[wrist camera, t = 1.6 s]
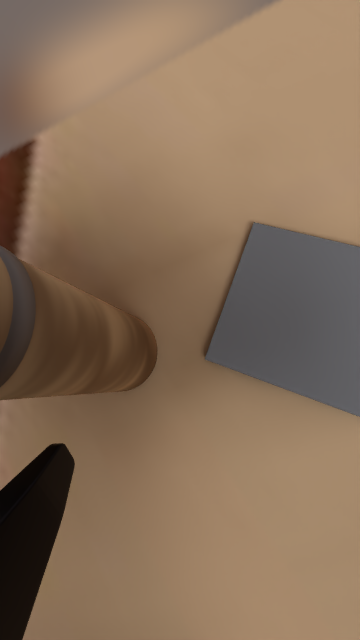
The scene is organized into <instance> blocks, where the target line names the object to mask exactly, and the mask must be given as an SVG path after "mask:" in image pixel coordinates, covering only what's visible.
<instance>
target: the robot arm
mask: <svg viewBox="0 0 360 640" xmlns="http://www.w3.org/2000/svg"><path fill="white" fill-rule="evenodd" d="M74 465H75V463H74V459H73V457H72V455H71V453H70V452H69V450H68V448H67V447H66V445H65V444H63V443H58V444H51V445H49V446H48V447H47V448H46V449H45V450H44V451H43V452H42V453H40V454H39V455H38V456H37V457H36V458H35V459H34V460H33V461H32V462H31V463H30V464H29V465H27V466H26V467H25V468H24V469H23V470H22V471H21V472H20V473H19V474H18V475H17V476H16V477H15V478H13V479H12V480H11V481H10V482H9V483H8V484H7V485H6V486H5V487H4V488H3V489H2V490H0V640H22V639H23V636H24V633H25V630H26V627H27V624H28V621H29V618H30V615H31V612H32V609H33V606H34V603H35V600H36V597H37V594H38V590H39V587H40V584H41V581H42V578H43V575H44V572H45V569H46V566H47V563H48V560H49V557H50V554H51V551H52V548H53V545H54V542H55V539H56V536H57V533H58V530H59V527H60V524H61V521H62V517H63V513H64V510H65V505H66V501H67V497H68V492H69V488H70V484H71V480H72V475H73V471H74Z"/></svg>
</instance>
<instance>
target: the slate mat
mask: <svg viewBox="0 0 360 640" xmlns="http://www.w3.org/2000/svg"><path fill="white" fill-rule="evenodd" d="M205 359H206V360H208V361H211V362H214V363H216V364H219V365H222V366H224V367H227V368H230V369H232V370H235V371H238V372H241V373H243V374H246V375H249V376H251V377H254V378H257V379H259V380H262V381H265V382H268V383H270V384H273V385H276V386H278V387H281V388H284V389H286V390H289V391H292V392H294V393H297V394H300V395H303V396H305V397H308V398H311V399H313V400H316V401H319V402H321V403H324V404H327V405H330V406H332V407H335V408H338V409H340V410H343V411H346V412H348V413H351V414H354V415H356V416H359V417H360V247H357V246H353V245H349V244H345V243H340V242H336V241H332V240H327V239H323V238H319V237H315V236H310V235H306V234H302V233H297V232H293V231H289V230H285V229H280V228H276V227H272V226H267V225H263V224H259V223H255V222H254V224H253V227H252V229H251V232H250V235H249V238H248V240H247V243H246V246H245V249H244V252H243V254H242V257H241V260H240V263H239V265H238V268H237V271H236V274H235V277H234V279H233V282H232V285H231V288H230V290H229V293H228V296H227V299H226V302H225V304H224V307H223V310H222V313H221V315H220V318H219V321H218V324H217V327H216V329H215V332H214V335H213V338H212V340H211V343H210V346H209V349H208V352H207V354H206V357H205Z"/></svg>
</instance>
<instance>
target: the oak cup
mask: <svg viewBox="0 0 360 640" xmlns="http://www.w3.org/2000/svg"><path fill="white" fill-rule="evenodd" d="M156 359H157V344H156V340H155V337H154V335H153V333H152V331H151V329H150V328H149V327H148V326H147V325H146V324H145V323H144V322H143V321H141V320H140V319H138V318H136V317H134V316H132V315H130V314H128V313H126V312H124V311H122V310H120V309H118V308H116V307H114V306H112V305H110V304H108V303H106V302H104V301H102V300H100V299H98V298H96V297H94V296H92V295H90V294H88V293H86V292H84V291H82V290H80V289H78V288H76V287H74V286H72V285H70V284H68V283H66V282H64V281H62V280H60V279H58V278H56V277H54V276H52V275H50V274H48V273H46V272H44V271H42V270H40V269H38V268H36V267H34V266H32V265H30V264H28V263H26V262H24V261H22V260H20V259H18V258H17V257H16V256H15V255H14V254H12V253H11V252H10V251H8V250H7V249H5V248H4V247H2V246H0V400H8V399H22V398H35V397H49V396H63V395H77V394H91V393H104V392H118V391H127V390H131V389H133V388H136V387H137V386H139V385H140V384H142V383H143V382H144V381H145V380H146V379H147V378H148V377H149V375H150V374H151V372H152V371H153V368H154V366H155V363H156Z"/></svg>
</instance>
